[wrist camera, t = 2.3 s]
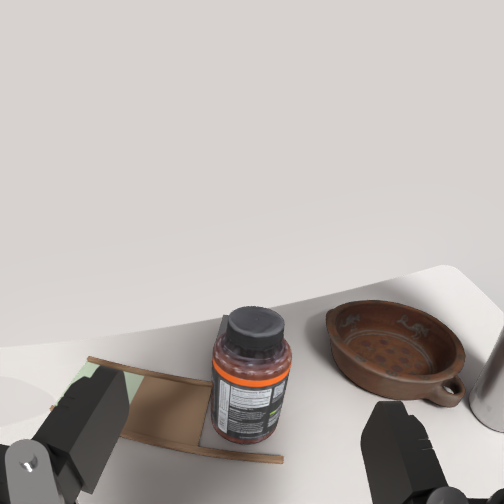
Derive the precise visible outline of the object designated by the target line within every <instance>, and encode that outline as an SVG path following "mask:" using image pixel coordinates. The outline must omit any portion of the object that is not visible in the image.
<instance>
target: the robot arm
mask: <svg viewBox="0 0 504 504" xmlns="http://www.w3.org/2000/svg"><path fill="white" fill-rule="evenodd" d="M469 403H470V407H471V409H472V411H473V413H474V414H475V415H476V417H477V418H478V419H479V420H480V421H481V422H482V423H483V424H485V425H486V426H488V427H489V428H491V429H493V430H496V431H499V432H504V326H503V328H502V331H501V333H500V335H499V337H498V340H497V342H496V344H495V346H494V348H493V350H492V352H491V355H490V357H489V359H488V361H487V363H486V365H485V366H484V368H483V370H482V372H481V374H480V376H479V378H478V380H477V382H476V383H475V385H474V387H473V389H472V391H471V392H470V395H469ZM129 409H130V404H129V398H128V392H127V386H126V380H125V375H124V372H123V371H122V370H118V369H114V368H111V367H107V366H103V365H100V366H99V367H98V368H97V369H96V370H95V372H94V373H93V375H92V376H91V377H90V378H89V377H86V376H83V377H82V378H80V379H78V380H77V381H75V382H74V383H72V384H71V385H70V387H69V388H68V389H67V391H66V392H65V393H64V396H63V397H62V398H61V399H60V400H59V402H58V403H57V406H55V407H54V409H53V410H52V411H51V413H50V414H49V415H48V417H47V418H46V420H45V421H44V423H43V424H42V425H41V427H40V428H39V430H38V431H37V433H36V434H35V435H34V437H33V438H32V439H31V440H29V439H24V440H19V441H16V442H15V443H13V444H12V445H11V446H7V445H2V444H0V504H79V503H78V500H77V497H78V494H79V492H80V490H82V491H84V492H87V493H90V494H92V493H93V491H94V489H95V487H96V485H97V483H98V480H99V478H100V476H101V474H102V472H103V469H104V467H105V465H106V463H107V461H108V459H109V457H110V455H111V452H112V450H113V448H114V446H115V444H116V442H117V440H118V438H119V436H120V434H121V431H122V429H123V427H124V425H125V423H126V421H127V419H128V415H129ZM428 438H429V437H428V435H427V433H426V430H425V428H424V426H423V424H422V423H421V422H420V421H419V420H418V419H417V418H416V417H415V416H414V415H408V413H407V411H406V409H405V406H404V404H403V403H402V402H401V401H379V402H377V404H376V405H375V407H374V409H373V412H372V414H371V416H370V418H369V420H368V422H367V424H366V426H365V428H364V430H363V432H362V435H361V451H362V455H363V460H364V464H365V469H366V473H367V478H368V483H369V487H370V492H371V497H372V502H373V504H504V488H503V489H500V490H498V491H497V492H495V493H494V494H493V495H492V496H491V497H490V498H489V499H476V498H466V496H465V495H464V493H462V492H461V491H460V490H458V489H456V488H453V487H449V486H448V484H447V481H446V479H445V476H444V474H443V471H442V469H441V466H440V464H439V461H438V459H437V456H436V454H435V451H434V450H433V449H432V444H431V442H430V440H428Z"/></svg>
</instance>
